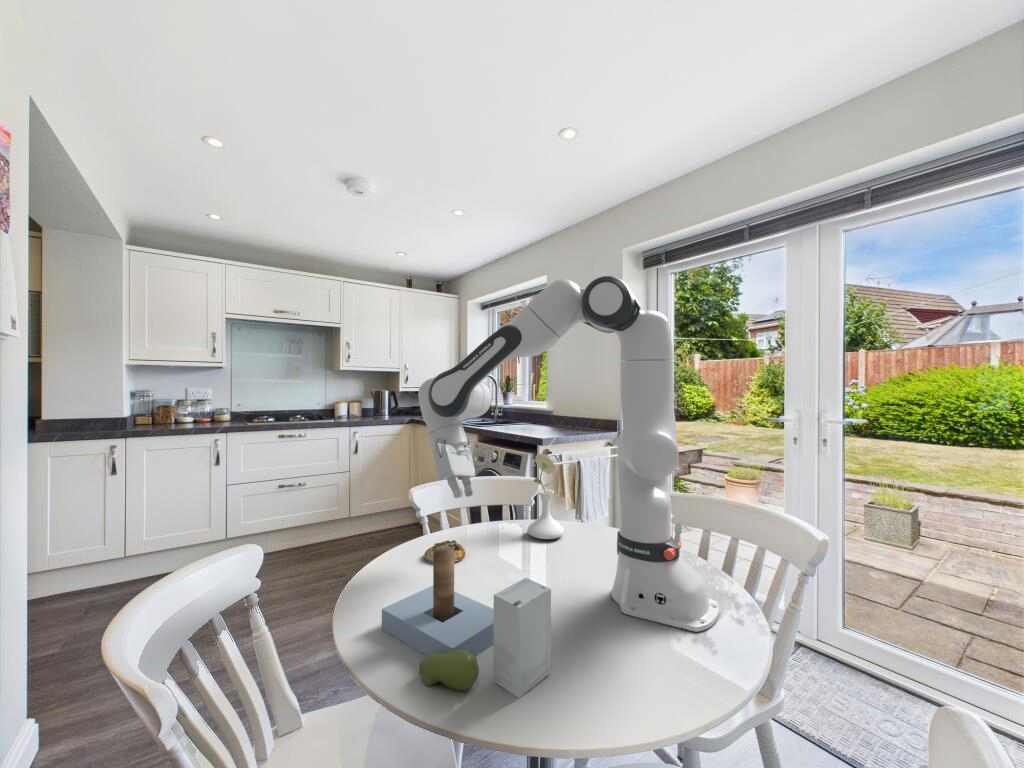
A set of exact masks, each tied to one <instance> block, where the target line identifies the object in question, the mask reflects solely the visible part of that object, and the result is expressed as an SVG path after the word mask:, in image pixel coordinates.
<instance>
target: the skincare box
mask: <svg viewBox="0 0 1024 768" xmlns="http://www.w3.org/2000/svg"><path fill="white" fill-rule="evenodd" d="M493 609H494V644H493V651H492V652H493V653H492V654H493V664H492V665H493V669H492V672H493V673H492V675H493V676H492V677H493V682H494V683H496V684H497V685H498V686H500V687H501V688H503V689H504V690H506V691H507V692H508V693H510V694H511V695H513V696H514V697H515V698H518V699H519V698H521V697H522V696H524V695H525V694H526V693H528V691H530V690H531V689H532V688H534V687H535V686H536V685H538V683H540V682H541V681H542V680H544V678H546V677H548V676H549V675H550V674H551V655H552V654H551V653H552V652H551V643H552V642H551V640H552V638H551V637H552V635H551V634H552V632H551V631H552V628H551V627H552V623H551V622H552V617H551V616H552V588H550V587H548V586H545V585H544V584H541V583H538V582H537V581H534V580H532V579H531V578H527V577H525V578H523V579H521V580H519V581H516V582H515V583H513V584H512V585H510V586H507V587H506V588H504V589H502V590H500V591H498V592H496V593H494V594H493Z"/></svg>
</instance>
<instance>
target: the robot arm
mask: <svg viewBox="0 0 1024 768" xmlns="http://www.w3.org/2000/svg"><path fill="white" fill-rule="evenodd" d="M579 323H584V324H585V325H588V326H589V327H591V328H593V329H595V330H596V331H598V332H599V331H600V332H602V333H605V334H606V333H607V334H609V333H612V334H613V333H615V334H616V335H617V337H618V339H619V343H620V344H619V345H620V405H621V406H620V407H621V416H622V417H621V420H622V430H621V431H620V433H619V435H618V438H617V467H618V468H617V469H618V474H617V475H618V488H619V489H618V490H619V491H618V493H619V520H618V521H619V524H618V525H619V527H618V528H619V530H618V531H617V533H616V534H617V538H616V554H617V565H616V571H615V572H616V573H615V577H614V582H613V585H612V588H611V590H610V594H611V598H612V599H613V600H614V602H616V603H617V604H618V606H619V608H620V611H621V612H622V614H625V615H628V616H632V617H635V618H639V619H643V620H644V619H645V620H647V621H652V622H655V623H656V622H657V623H659V624H664V625H667V626H670V627H675V628H678V629H682V628H683V630H686V629H687V631H690V632H691V631H692V632H701V631H705V630H708V629H709V628H711V627H712V626H713V625H715V623H716V622H717V621H718V619H719V618H720V614H721V611H720V610H721V609H720V605H719V603H718V601H716V600H714V599H712V598H710V597H709V592H708V588H707V587H708V586H707V583H706V581H705V579H704V578H703V576H702V575H701V574H700V573H698V572H697V571H696V570H695V569H694V568H693V567H692V566H691V565H690V564H689V563H687V562H686V560H685V559H684V558H682V556H680V549H681V548H682V545H683V544H682V541H679V542H676V540H675V539H674V537H673V536H672V499H671V493H670V492H671V491H670V486H669V476H670V475H672V474H673V473H674V472H675V470H676V469H677V467H678V464H679V461H680V460H679V459H680V453H679V448H678V436H677V424H676V414H675V408H674V398H673V397H674V395H673V389H674V388H673V378H674V377H673V370H674V369H673V343H672V335H671V334H672V333H671V328H670V324H669V320H668V318H667V316H665V314H663V313H661V312H660V311H656V310H652V309H641V305H640V303H639V301H638V300H637V298H636V296H635V295H634V293H633V291H632V290H631V288H630V287H629V285H628V284H627V283H626V282H625V281H624V280H622V279H621V278H619V277H616V276H611V275H603V276H599V277H598V278H597V277H596V278H595V279H593V280H592V281H590V283H589V284H588V285H587V286H586V287H585V288H583V287H580V286H579V285H578V284H577V283H576V282H574V281H572V280H571V279H567V278H559V279H556V280H555V281H553V282H552V283H550V284H549V285H547V286H546V287H544V288H543V289H542V290H541V291H540V292H538V293H537V295H535V296H534V297H533V298H532V299H531V300H530V301H529V302H528V303H527V304H526V305H525V306H524V307H523V308H522V309H521V310H520V311H519V312H518V313H517V314H516V315H515V316H514V317H513V318H511V320H509V321H508V322H507V323H506V324H504V325H503V326H501V327H500V328H499V329H498V330H496V331H495V332H493V333H492V334H491V335H489V336H488V337H487V338H486V339H485V340H484V341H483V342H481V343H480V344H479V345H478V346H477V347H476V348H474V350H473V351H471V352H470V353H469V354H468V355H466V356H465V358H463V359H462V360H461V361H460V362H458V364H456V365H455V366H453V367H451V369H448V370H445V371H443V372H440V373H439V374H437V375H436V376H434V377H432V378H431V377H430V378H428V379H427V380H425V381H424V382H423V383H422V384H421V385H420V386H419V388H418V393H417V395H418V403H419V407H420V412H421V416H422V419H423V421H424V423H425V424H426V427H427V437H428V441H429V444H430V448H431V452H432V455H433V460H434V465H435V468H436V473H437V476H438V478H439V479H440V480H442V481H443V480H446V481H447V484H448V486H449V488H450V490H451V491H452V495H453V498H454V499H459V498H462V497H464V495H465V497H466V498H467V497H468V498H469V497H472V496H474V495H475V494H474V490H473V482H472V478H474V477H475V476H476V468H475V464H474V460H473V455H472V452H471V450H470V448H471V447H472V444H471V441H470V439H469V438H468V436H467V435H466V431H465V429H464V426H463V421H464V420H468V419H473V418H478V417H481V416H483V415H485V414H486V413H487V412H489V410H490V407H491V405H492V402H493V394H492V391H491V389H490V387H489V385H487V384H486V383H485V382H483V381H484V380H485V379H486V378H487V377H489V376H490V375H491V374H492V373H493V372H494V371H495V370H497V368H498V367H500V366H501V365H502V364H504V363H505V362H508V361H511V360H513V359H514V360H515V359H518V358H529V357H537V356H540V355H542V354H544V353H545V352H546V351H548V350H549V349H551V348H552V347H553V346H554V345H556V343H558V341H559V340H560V339H561V338H562V337H563V336H564V335H565V334H566V333H567V332H568V331H569V330H570V329H571V328H572V327H574V326H575V325H577V324H579ZM459 481H461V483H462V485H463V488H464V491H463V490H462V488H461V487H460V483H459Z"/></svg>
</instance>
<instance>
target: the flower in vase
mask: <svg viewBox="0 0 1024 768" xmlns="http://www.w3.org/2000/svg"><path fill="white" fill-rule="evenodd" d="M534 458H535V459H534V460H535V463H536V464H537V465H536V466H537V467H539V469H540V475H539V478H538V477H535V478H534V479H533V482H534V483H537V484H538V485H539V486H541V488H542V489H539V490H537V493H538V495H539V496H540V498H541V514H540V516H539V517H538V518H537V519H535V520H534V521H533V522H531V524H529V525H528V526H527V529H526V532H527V533H528V535H530V536H532V537H533V538H536V539H540V540H555V539H558V538H560V537H563V535H564V533H565V530H564V527H563V526H562V525H561V523H559V522H558V521H557V520H555V519H554V518H553V517H552V515H551V511H550V505H551V499H552V496H553V495H554V494H555V491H554V490H552V489H545V488H546V487H548V486H550V485H551V484H552V483H553V482H554V481H553V480H552V481H551V482H548V483H546V484H545V485H544V484H543V481H542V476H543V473H545V474H548V475H550V476H552V475H554V474H557V472H556V471H557V466H556V464H555V461H554V460H553V459H552V458H551V457H548V455H547V454H545V455H544V454H543V453H539V454H536V455H535V456H534Z"/></svg>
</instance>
